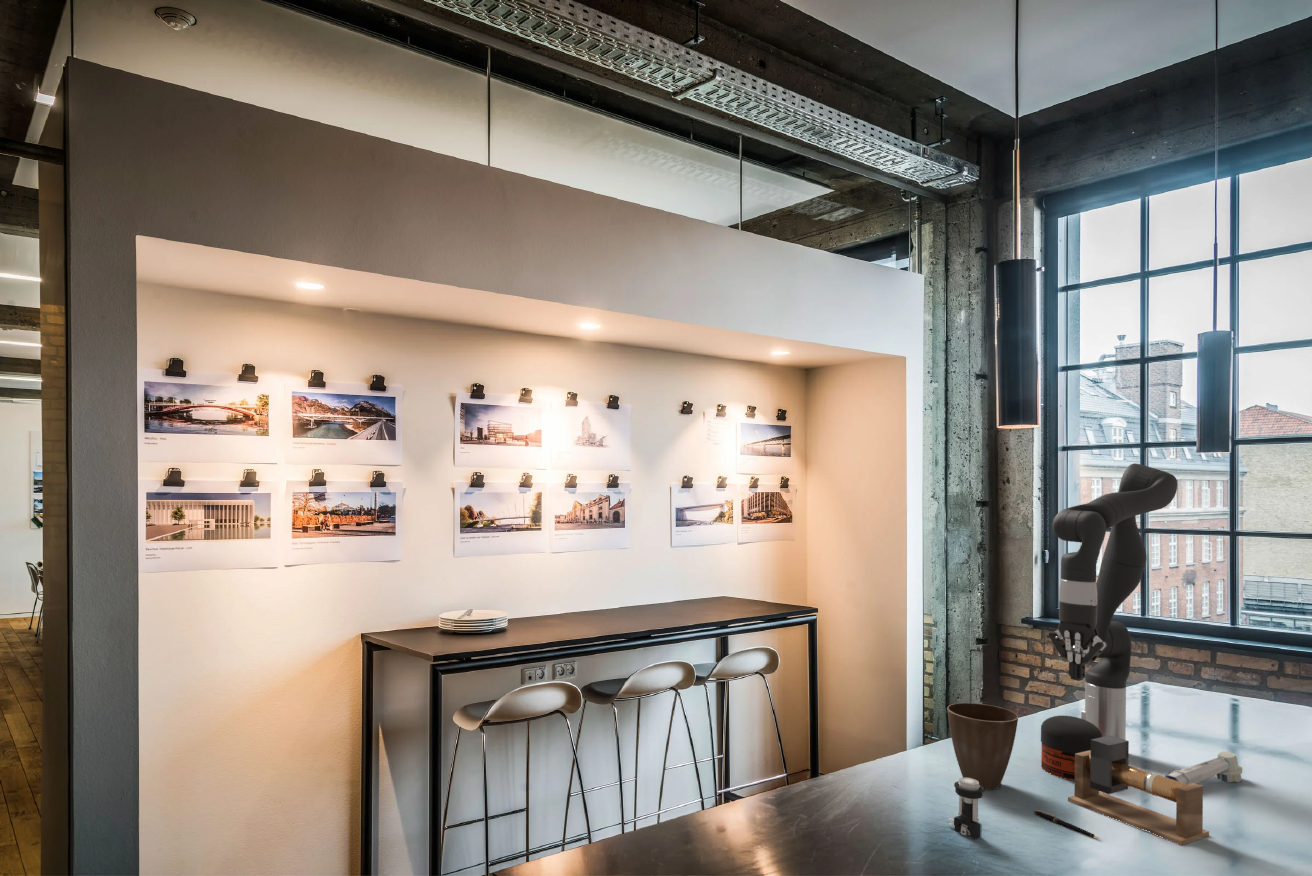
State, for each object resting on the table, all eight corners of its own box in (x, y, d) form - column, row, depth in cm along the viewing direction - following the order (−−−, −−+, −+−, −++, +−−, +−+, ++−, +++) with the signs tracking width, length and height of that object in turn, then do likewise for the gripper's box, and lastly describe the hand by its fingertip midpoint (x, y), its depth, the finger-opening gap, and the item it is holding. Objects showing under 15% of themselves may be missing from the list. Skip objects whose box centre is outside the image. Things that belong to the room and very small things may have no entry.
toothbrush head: (1158, 771, 185) (1222, 743, 196) (1160, 800, 185) (1224, 771, 196) (1181, 779, 180) (1246, 750, 191) (1184, 809, 180) (1248, 778, 191)
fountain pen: (1103, 842, 155) (1103, 834, 155) (1100, 843, 154) (1100, 835, 155) (1035, 814, 167) (1035, 806, 167) (1031, 815, 167) (1031, 807, 167)
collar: (1090, 787, 172) (1090, 739, 172) (1109, 782, 175) (1110, 735, 176) (1108, 794, 168) (1109, 745, 169) (1128, 789, 172) (1128, 741, 172)
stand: (1067, 801, 174) (1068, 754, 175) (1095, 793, 179) (1096, 748, 180) (1181, 845, 154) (1181, 792, 155) (1209, 835, 159) (1209, 784, 160)
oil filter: (1109, 773, 193) (1052, 758, 202) (1110, 721, 193) (1052, 708, 202) (1091, 786, 184) (1031, 770, 193) (1091, 731, 184) (1032, 717, 193)
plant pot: (934, 782, 182) (936, 710, 183) (961, 766, 193) (962, 698, 194) (1002, 802, 172) (1003, 726, 173) (1026, 784, 183) (1028, 712, 184)
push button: (941, 829, 157) (942, 777, 158) (957, 823, 161) (958, 771, 161) (972, 842, 152) (973, 788, 153) (988, 836, 155) (989, 782, 156)
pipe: (1085, 774, 174) (1085, 754, 174) (1096, 771, 176) (1097, 751, 176) (1178, 807, 158) (1179, 785, 158) (1190, 803, 160) (1190, 782, 160)
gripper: (1040, 597, 184) (1038, 674, 183) (1096, 606, 172) (1095, 688, 172) (1060, 595, 188) (1059, 671, 187) (1117, 604, 176) (1116, 685, 175)
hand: (1076, 679), depth 179 cm, fingers closed
